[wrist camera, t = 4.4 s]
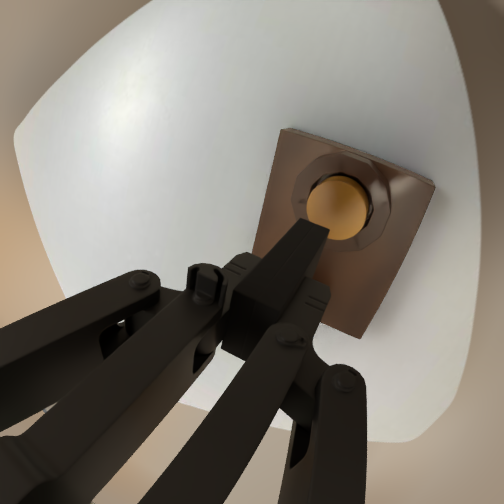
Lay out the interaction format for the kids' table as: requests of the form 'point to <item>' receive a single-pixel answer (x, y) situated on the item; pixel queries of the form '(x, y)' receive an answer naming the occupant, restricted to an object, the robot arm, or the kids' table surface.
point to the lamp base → (360, 245)
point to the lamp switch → (338, 206)
